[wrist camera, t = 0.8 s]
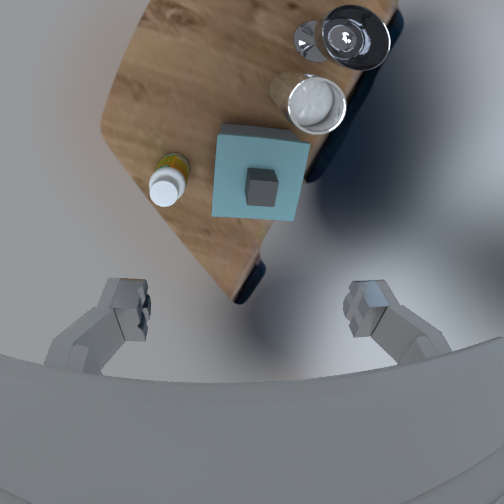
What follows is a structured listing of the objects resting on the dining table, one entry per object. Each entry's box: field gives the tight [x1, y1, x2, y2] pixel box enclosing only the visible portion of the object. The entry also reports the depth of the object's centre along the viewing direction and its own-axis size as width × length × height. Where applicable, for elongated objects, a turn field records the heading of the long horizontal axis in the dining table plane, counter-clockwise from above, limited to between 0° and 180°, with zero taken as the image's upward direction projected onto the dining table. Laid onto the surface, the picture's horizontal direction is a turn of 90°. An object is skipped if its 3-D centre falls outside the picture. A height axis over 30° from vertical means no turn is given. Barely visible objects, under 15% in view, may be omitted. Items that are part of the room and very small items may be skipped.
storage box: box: [221, 123, 300, 141], centre depth 42 cm, size 11×11×8 cm
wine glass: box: [294, 5, 390, 71], centre depth 28 cm, size 8×8×15 cm
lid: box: [212, 133, 310, 221], centre depth 37 cm, size 12×12×5 cm
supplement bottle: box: [149, 153, 190, 207], centre depth 41 cm, size 5×5×10 cm
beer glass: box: [269, 72, 346, 135], centre depth 33 cm, size 7×7×15 cm
